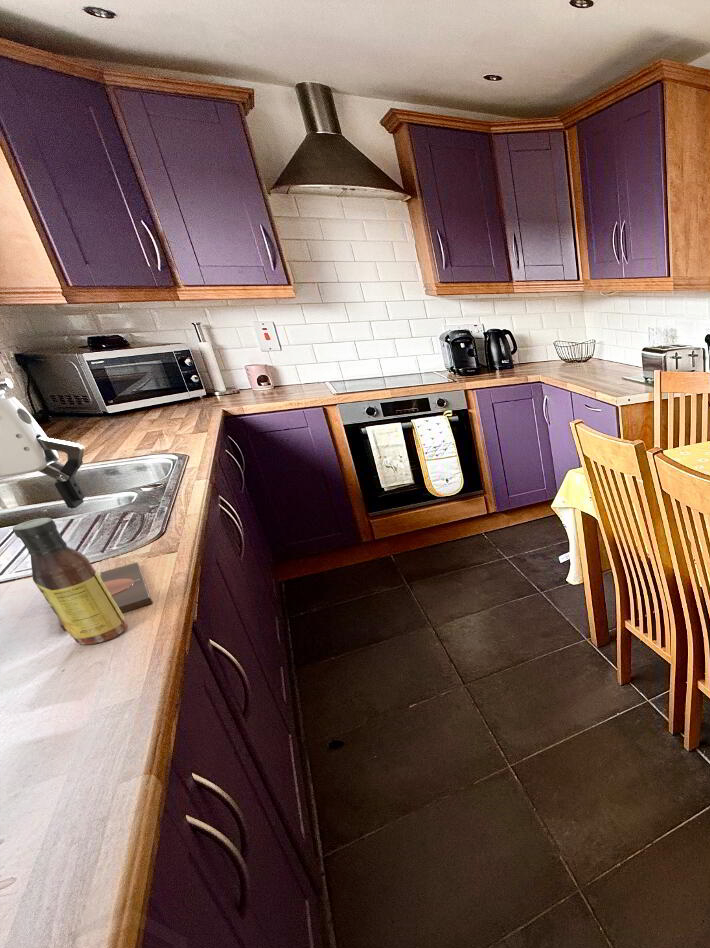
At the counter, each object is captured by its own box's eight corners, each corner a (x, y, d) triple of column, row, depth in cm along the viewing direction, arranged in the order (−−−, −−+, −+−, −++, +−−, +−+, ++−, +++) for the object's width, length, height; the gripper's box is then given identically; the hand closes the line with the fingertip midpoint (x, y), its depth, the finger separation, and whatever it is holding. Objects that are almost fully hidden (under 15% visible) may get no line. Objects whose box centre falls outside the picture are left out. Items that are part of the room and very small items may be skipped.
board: (61, 589, 108) (58, 583, 107) (140, 567, 115) (137, 561, 114) (63, 631, 94) (59, 624, 93) (152, 603, 101) (149, 597, 100)
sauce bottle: (92, 629, 94) (22, 517, 85) (138, 621, 96) (75, 510, 87) (65, 652, 88) (-12, 534, 80) (115, 643, 90) (45, 526, 81)
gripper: (58, 379, 82) (119, 492, 90) (-120, 398, 75) (-38, 518, 83) (33, 387, 76) (101, 507, 84) (-164, 408, 69) (-71, 537, 77)
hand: (32, 513), depth 83 cm, fingers open, 9 cm apart
